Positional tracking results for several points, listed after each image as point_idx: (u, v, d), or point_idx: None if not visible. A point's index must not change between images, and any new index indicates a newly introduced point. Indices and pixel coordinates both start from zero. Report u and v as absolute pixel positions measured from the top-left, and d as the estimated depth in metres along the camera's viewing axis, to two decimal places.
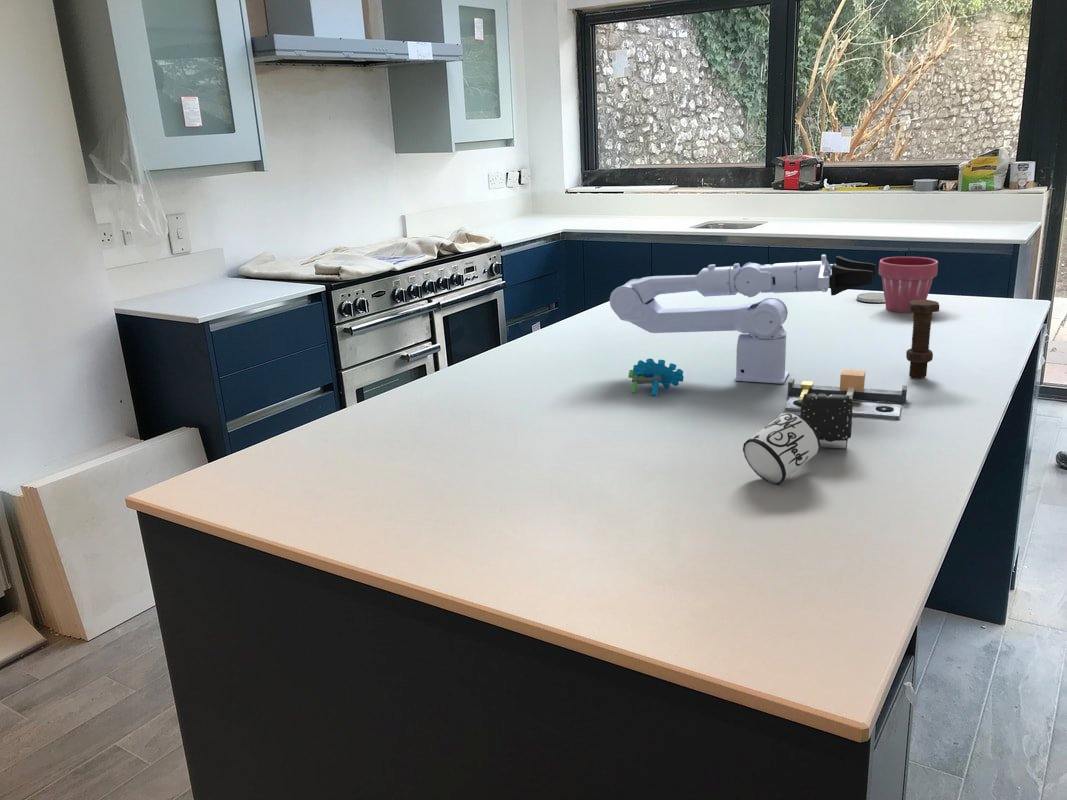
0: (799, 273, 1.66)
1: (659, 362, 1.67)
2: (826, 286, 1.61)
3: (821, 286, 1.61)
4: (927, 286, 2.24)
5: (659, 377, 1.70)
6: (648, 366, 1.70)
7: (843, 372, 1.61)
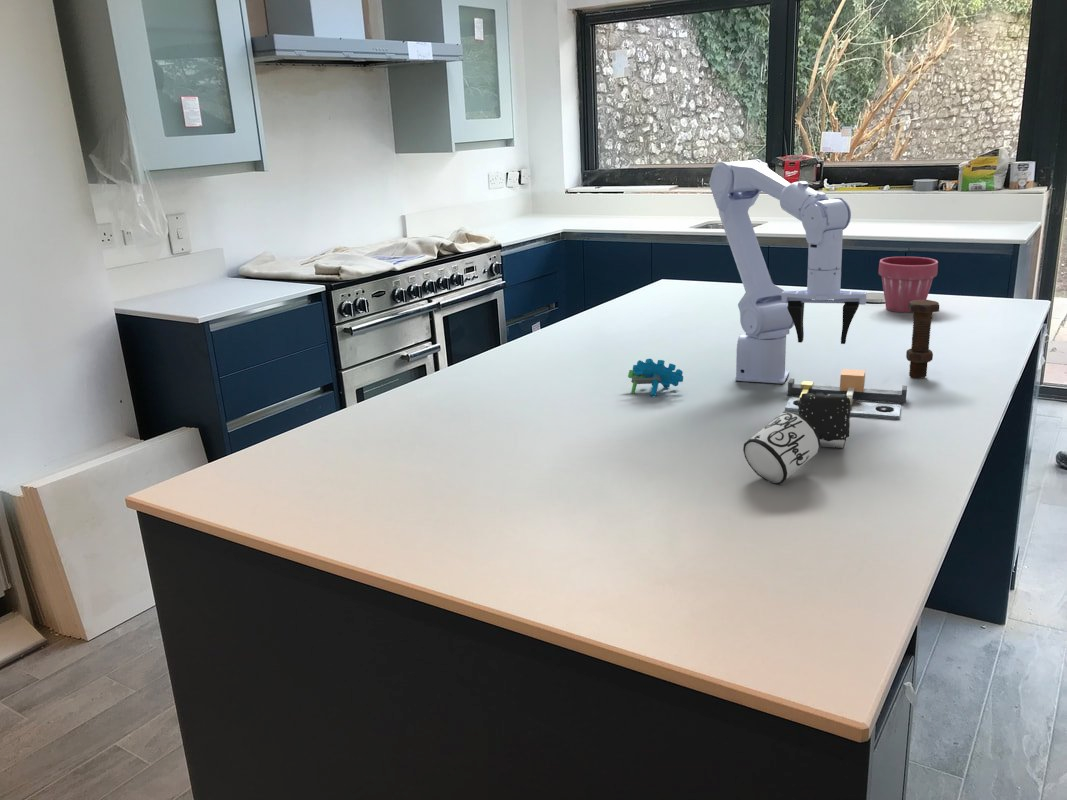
0: (808, 272, 1.58)
1: (658, 362, 1.67)
2: None
3: None
4: (927, 286, 2.24)
5: (658, 377, 1.70)
6: (647, 366, 1.69)
7: (843, 372, 1.61)
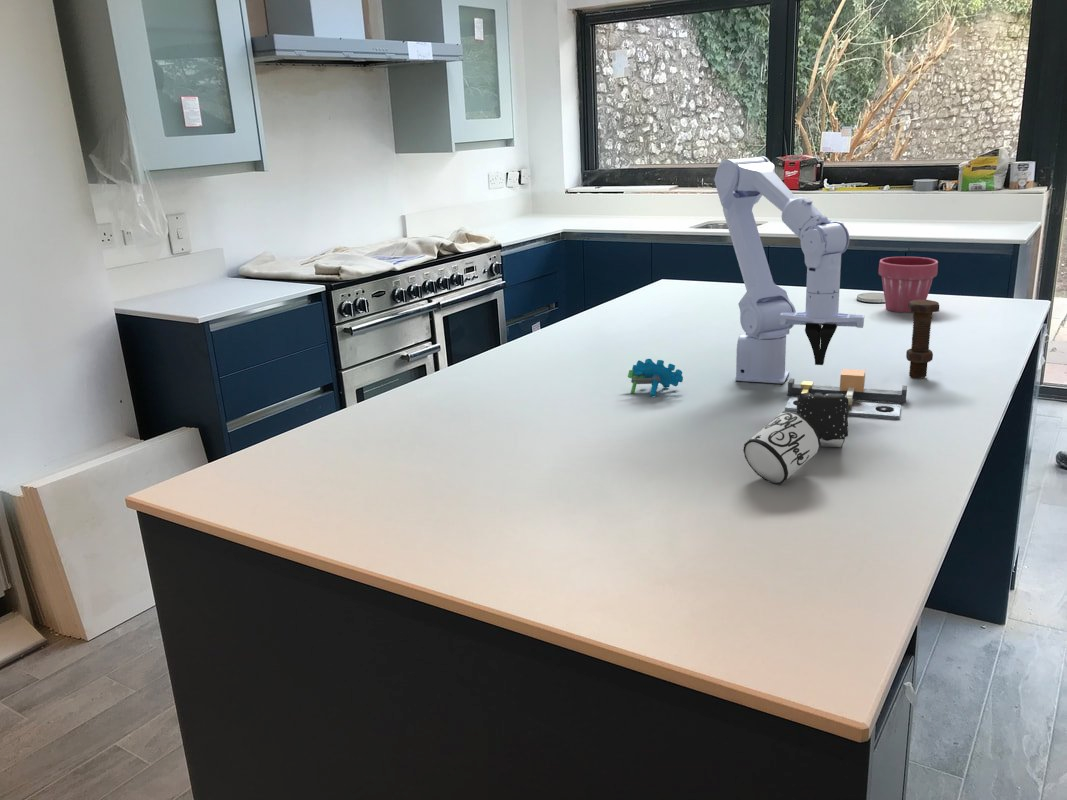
0: (806, 294, 1.59)
1: (658, 362, 1.67)
2: None
3: None
4: (927, 286, 2.24)
5: (658, 377, 1.70)
6: (647, 366, 1.69)
7: (843, 372, 1.61)
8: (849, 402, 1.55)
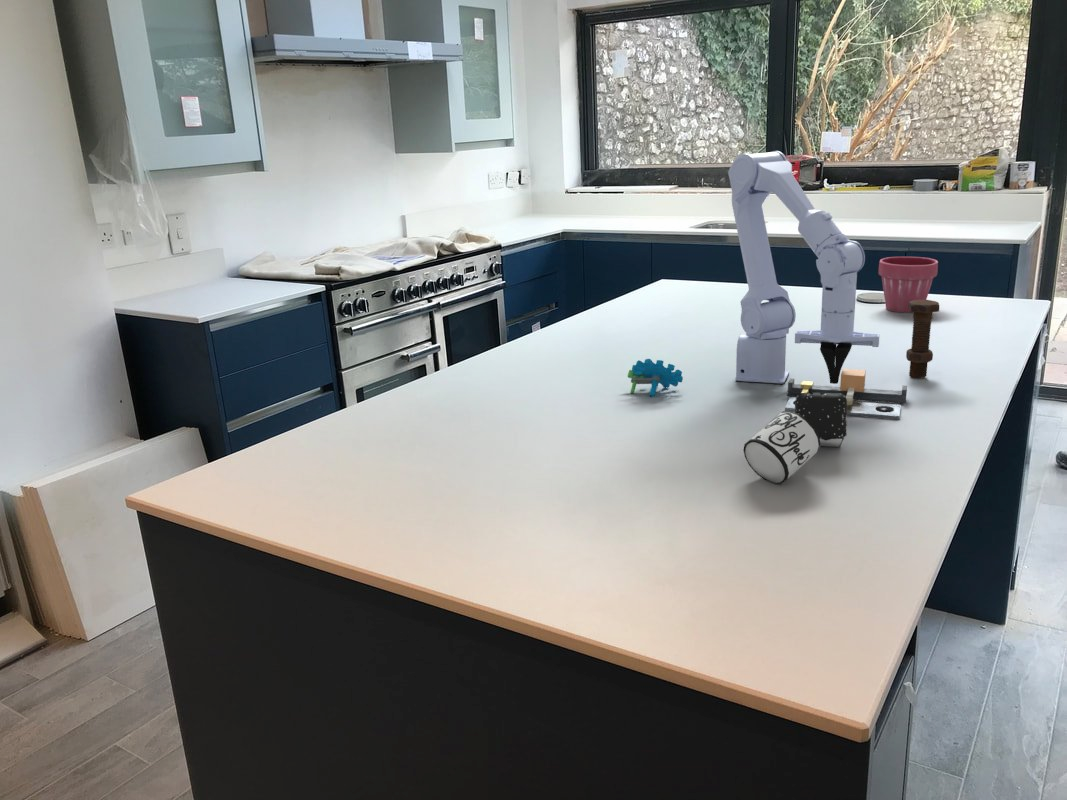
0: (822, 313, 1.59)
1: (657, 362, 1.67)
2: None
3: None
4: (927, 286, 2.24)
5: (658, 377, 1.70)
6: (647, 366, 1.69)
7: (843, 372, 1.61)
8: (849, 402, 1.55)
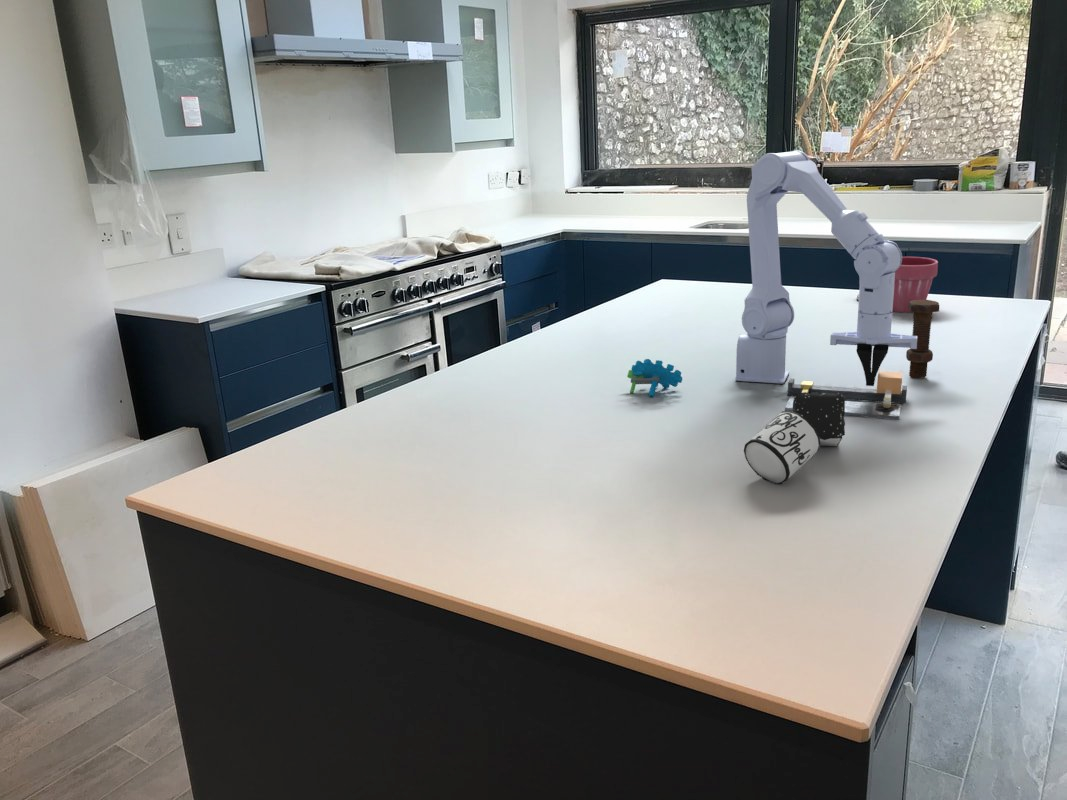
0: (859, 315, 1.57)
1: (656, 363, 1.67)
2: None
3: None
4: (927, 286, 2.24)
5: (657, 378, 1.70)
6: (646, 367, 1.69)
7: (880, 374, 1.59)
8: (887, 405, 1.53)
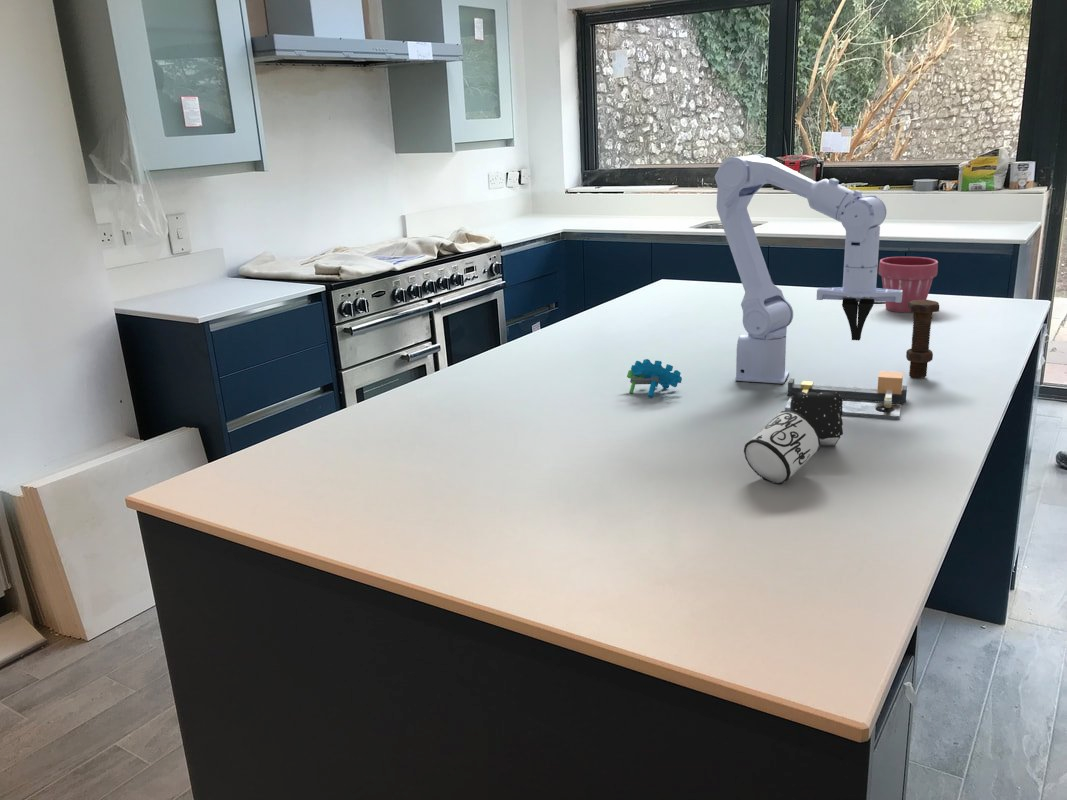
0: (844, 269, 1.58)
1: (655, 363, 1.67)
2: None
3: None
4: (927, 286, 2.24)
5: (656, 378, 1.70)
6: (645, 367, 1.69)
7: (881, 374, 1.59)
8: (888, 405, 1.53)
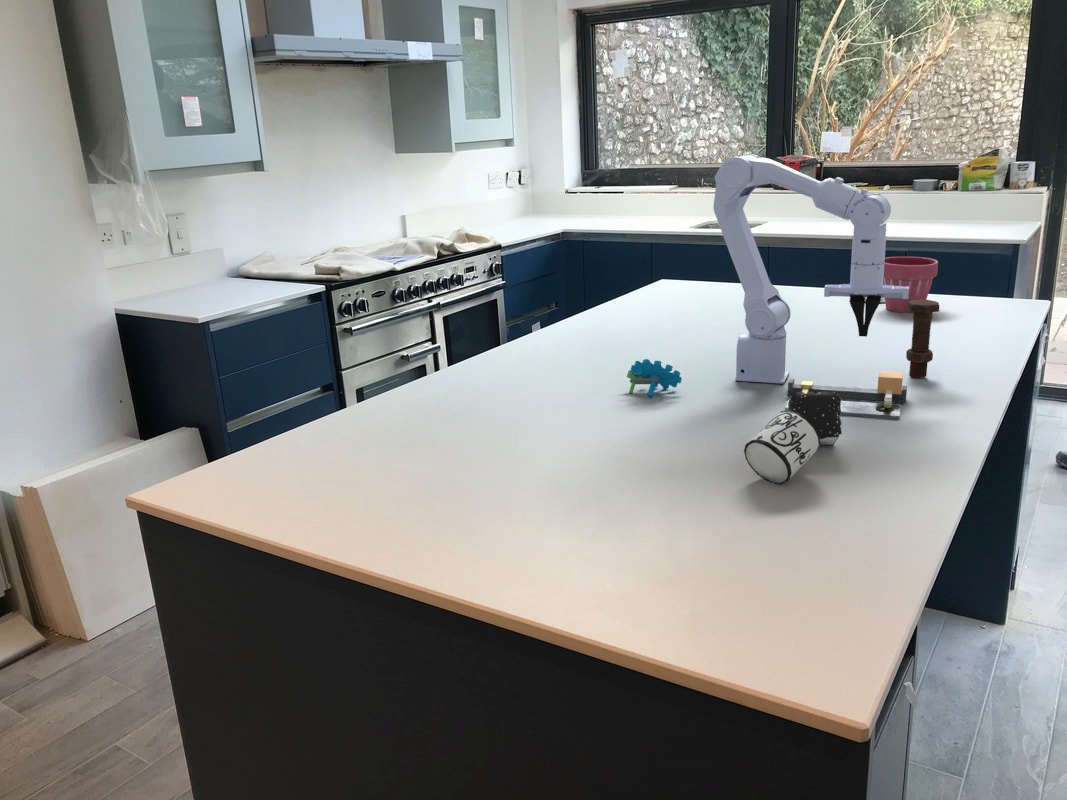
0: (852, 266, 1.61)
1: (655, 363, 1.67)
2: None
3: None
4: (927, 286, 2.24)
5: (656, 378, 1.70)
6: (645, 367, 1.69)
7: (881, 374, 1.59)
8: (888, 405, 1.53)
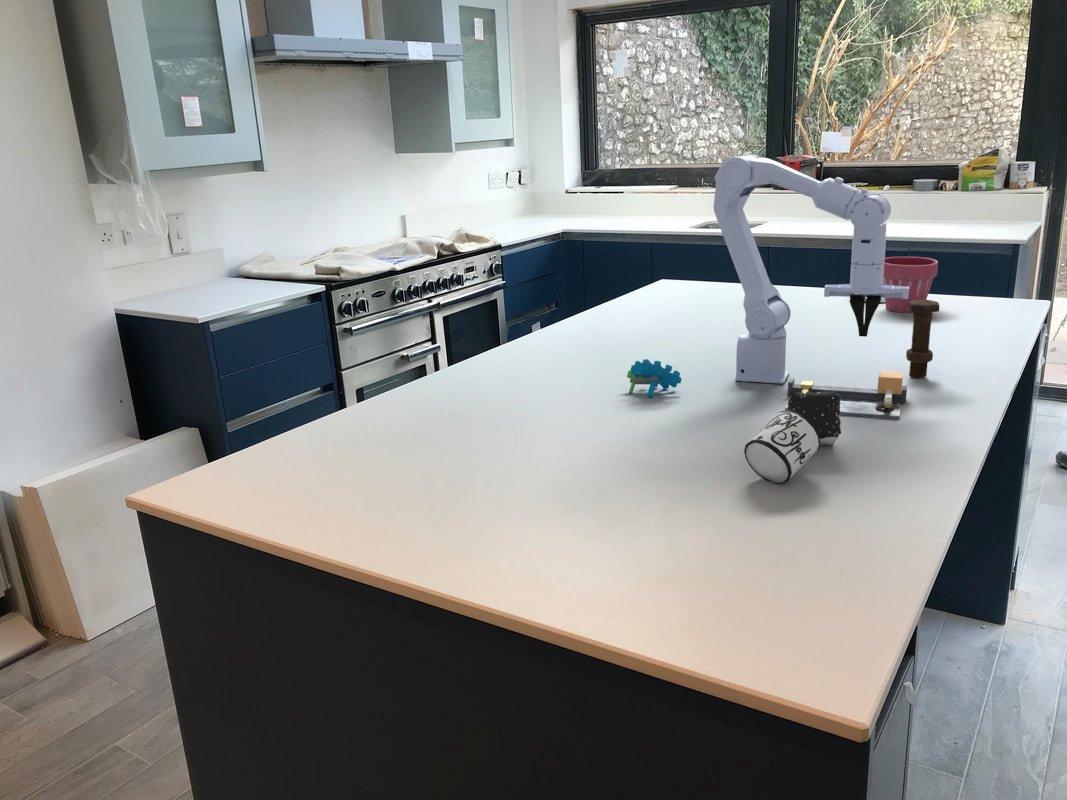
0: (852, 266, 1.61)
1: (655, 363, 1.66)
2: None
3: None
4: (927, 286, 2.24)
5: (656, 378, 1.70)
6: (645, 367, 1.69)
7: (881, 374, 1.59)
8: (888, 405, 1.53)
